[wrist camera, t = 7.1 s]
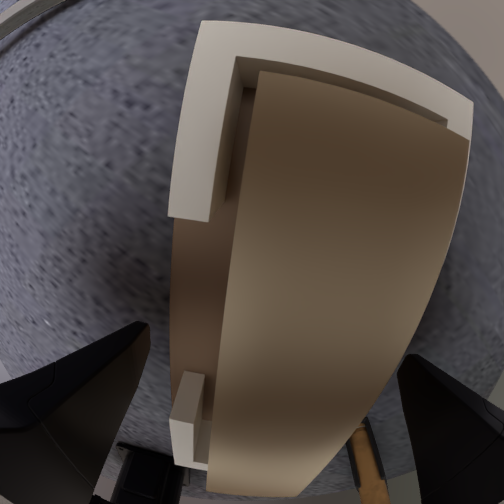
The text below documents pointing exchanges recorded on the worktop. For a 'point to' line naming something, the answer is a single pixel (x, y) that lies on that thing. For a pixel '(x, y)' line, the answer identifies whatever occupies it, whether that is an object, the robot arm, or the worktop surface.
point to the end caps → (224, 127)
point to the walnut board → (205, 276)
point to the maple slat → (324, 275)
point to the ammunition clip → (367, 466)
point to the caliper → (23, 14)
